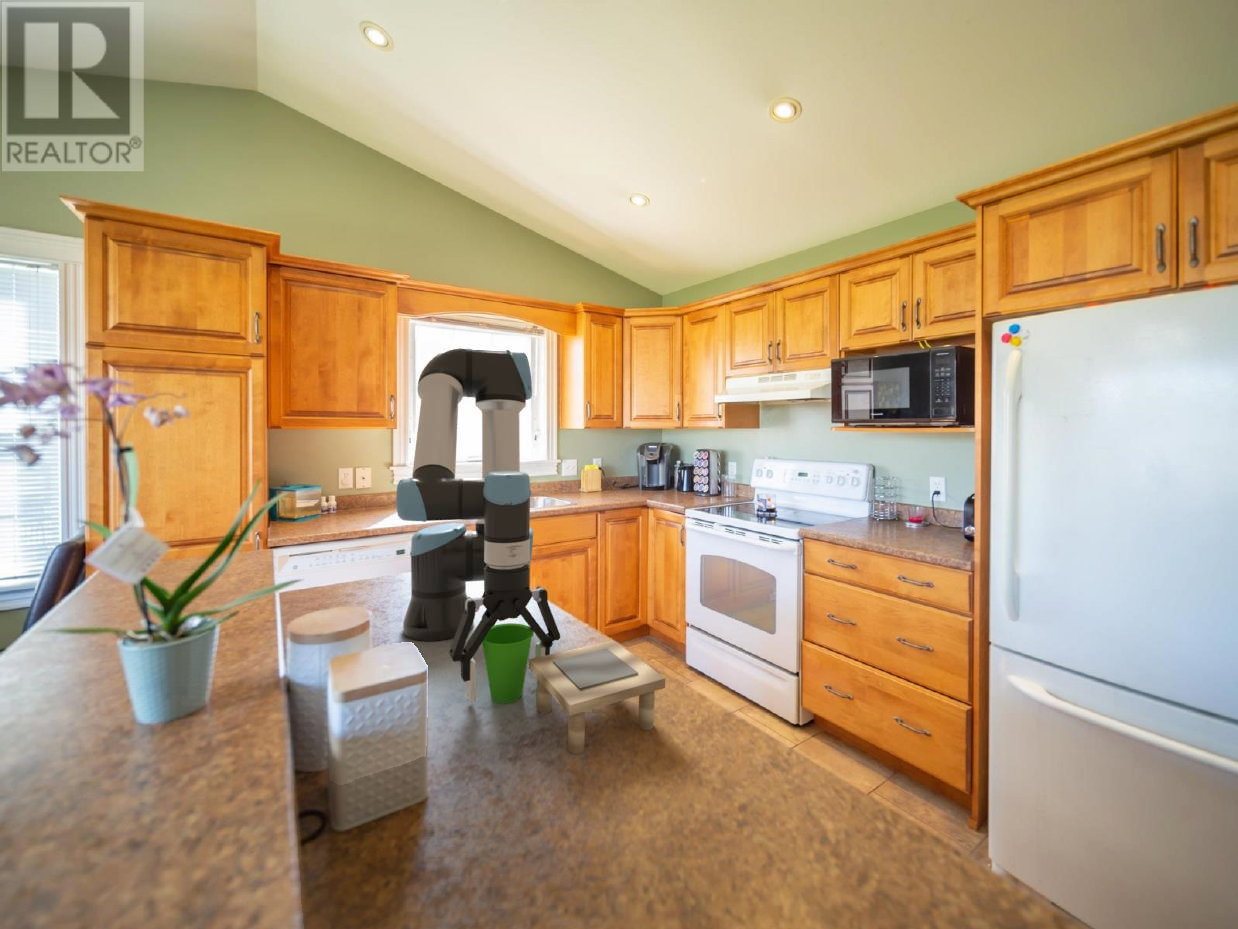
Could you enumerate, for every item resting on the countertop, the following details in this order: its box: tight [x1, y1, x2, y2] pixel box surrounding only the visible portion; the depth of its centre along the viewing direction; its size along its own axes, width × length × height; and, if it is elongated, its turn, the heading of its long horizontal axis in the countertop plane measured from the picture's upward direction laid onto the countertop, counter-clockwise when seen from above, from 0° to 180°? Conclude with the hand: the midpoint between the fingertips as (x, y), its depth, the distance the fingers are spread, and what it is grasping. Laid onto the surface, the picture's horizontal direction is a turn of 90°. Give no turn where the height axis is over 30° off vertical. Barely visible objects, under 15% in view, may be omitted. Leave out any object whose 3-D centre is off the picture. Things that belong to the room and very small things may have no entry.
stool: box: [528, 640, 666, 755], centre depth 82 cm, size 16×16×8 cm
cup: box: [481, 622, 535, 704], centre depth 88 cm, size 9×9×11 cm
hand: (506, 689), depth 88 cm, fingers open, 11 cm apart
